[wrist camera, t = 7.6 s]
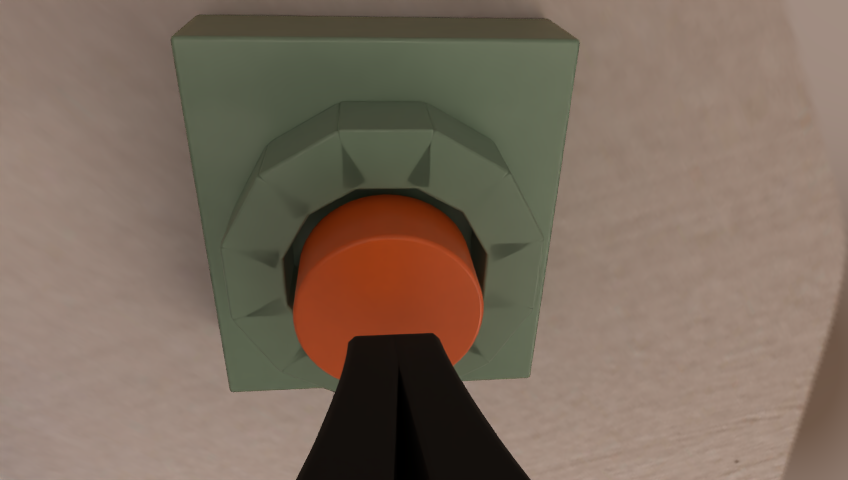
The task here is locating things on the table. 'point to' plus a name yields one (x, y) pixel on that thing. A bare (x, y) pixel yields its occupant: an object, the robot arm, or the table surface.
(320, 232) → the button
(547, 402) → the table surface
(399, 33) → the block
